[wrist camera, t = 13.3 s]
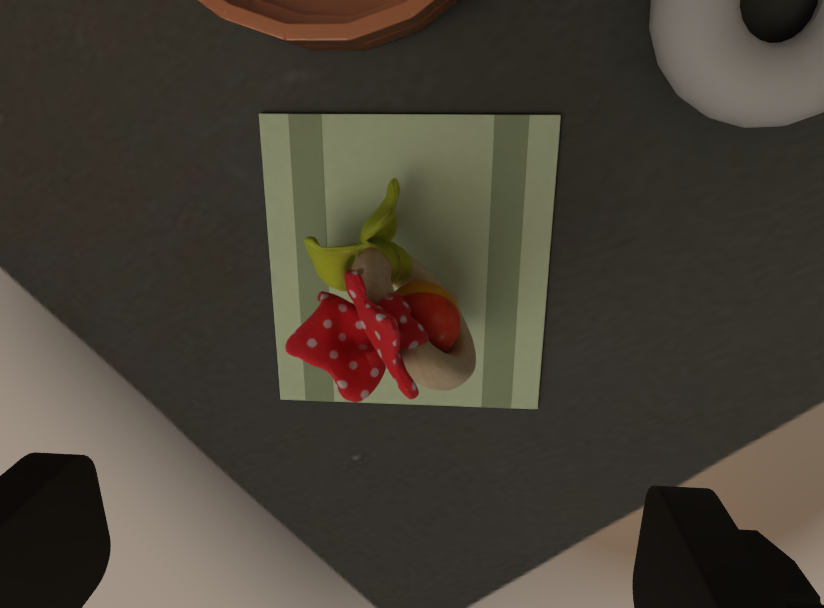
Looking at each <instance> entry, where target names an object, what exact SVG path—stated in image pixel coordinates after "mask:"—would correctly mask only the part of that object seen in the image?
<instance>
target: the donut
mask: <svg viewBox="0 0 824 608" xmlns="http://www.w3.org/2000/svg"><path fill="white" fill-rule="evenodd" d="M649 31H650V35H651V39H652V43H653V47H654V52H655V56H656V60H657V64H658V66H659V68H660V69H661V71H662V72H663V74H664V76H665V77H666V79H667V80H668V82H669V83H670V85H671V86H672V88H673V89H674V91H675V93H676V94H677V95H678V96H679V97H680V98H682V99H683V100H684V101H686V102H687V103H688V104H690V105H691V106H693V107H694V108H695V109H697V110H698V111H699V112H701V113H702V114H703V115H705V116H706V117H708V118H711V119H715V120H718V121H722V122H725V123H729V124H732V125H735V126H739V127H742V128H753V127H775V126H785V125H789V124H792V123H795V122H798V121H800V120H803V119H806V118H809V117H812V116H815V115H817V114H820V113H823V112H824V0H818V3H817V7H816V9H815V11H814V13H813V15H812V18H811V19H810V21H809V22H808V23H807V24H806V26H805V27H804V28H803V29H802V31H801V32H799V33H798V34H797V35H795V36H794V37H792V38H791V39H788V40H786V41H783V42H777V43H768V42H765V41H761V40H759V39H758V38H757V37H755V36H754V35H753V34H751V33H750V32H749V30H748V29H747V27H746V25H745V24H744V22H743V20H742V15H741V10H740V0H651V5H650V19H649Z"/></svg>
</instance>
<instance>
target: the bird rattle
mask: <svg viewBox="0 0 824 608" xmlns="http://www.w3.org/2000/svg"><path fill="white" fill-rule="evenodd" d="M399 193H400V186H399V182H398V180H397V179H396V178H393V179H391V180H390V182H389V184H388V187H387V195H386V198H385V199H384V200H383V201H382V203H381V205H380V206H379V207H378V209H377V210H376V211H375V212H374V213H373V214H372V215H371V216H370V217H369V218H368V219H367V220H366V222H365V224H364V226H363V228H362V231H361V236H360V244H357V243H355V244H351V245H348V246H335V247H322V246H320V245H319V243H318V241H317V239H316V238H315V237H312V236H309V237H306V238H305V240H304V243H305V246H306V249H307V251H308V254H309V256H310V258H311V259H312V263H313V266H314V268H315V270H316V272H317V274H318V276H319V277H320V278H321V279H322V281H323V282H324V283H325V284H327V285H328V286H330V287H332V288H334V289H337V290H339V291H347V292H348V295H349V296H350V298H351V300H352V301H353V303H354V304H353V303H351V302H349V301H347V300H346V299H344V298H342V297H340V296H338V295H335V294H332V293H329V292H324V291H321V292H320V293H319V295H318V297H317V299H318V301H319V302H320V305H319V306H318V308H317V309H316V310H315V311H314V313H313V314H312V315H311V316H310V317H309V318H308V319H307V320H306V321H305V322H304V323H303V324H302V325H301V326H300V327H299V328H297V329H296V330H295V331H294V332H293V333H292V335H291V336H290V337H289V338H288V340H287V342H286V345H285V349H286V352H287V353H288V354H289V355H291V356H294V357H296V358H298V359H300V360H302V361H305V362H307V363H309V364H311V365H313V366H315V367H318V368H320V369H323V370H325V371H327V372H328V373H329V374H330V375H331V376H332V377H333V379H334V381H335V384H336V387H337V390H338V391H339V393H340V394H341V396H342V397H343V398H344V399H346V400H349V401H352V402H360V401H362V400H363V399H365V398H366V397H368V396H369V395H370V394H371V393H372V392H373V391H374V390H375V389H376V387H377V386H378V384H379V383H380V381H381V379H382V377H383V375H384V373H385V370H386V368H387V370H388V371H389V373H390V374H391V376H392V377H393V379H394V381H395V383H396V385H397V386H398V388H399V389H400V391H401V392H402V393H403V394H404V395H405V396H406V397H407V398H409V399H411V400H412V399H414V398H416V397H417V396H418V394H419V390H418V388H417V386H416V384H415V382H417V383H418V384H420V385H422V386H425V387H427V388H430V389H434V390H439V391H448V390H452V389H455V388H457V387H458V386H460V385H462V384H463V383H464V382H466V381H467V380H468V379H469V378H470V377H471V376H472V374H473V372H474V370H475V366H476V351H475V346H474V342H473V339H472V336H471V333H470V331H469V328H468V326H467V323H466V321H465V319H464V317H463V315H462V313H461V311H460V309H459V305H458V299H457V297H456V296H455V295H454V294H453V293H451V292H450V291H448V290H447V289H446V288H445V287H444V286H443V285H442V284H441V283H440V281H439V280H438V279H437V278H436V277H435V276H434V275H433V274H432V273H431V272H430V271H429V270H428V269H427V268H426V267H425V266H424V265H422V264H421V263H420V262H419V261H418V260H416V259H415V258H414V257H412V256H411V255H409V254H408V253H407V252H406V251H405V250H404V249H403V248H402V247H400V246H398V245H397V244H395V243H393V242H390V241H391V240H392V239H393V237H394V236H395V234H396V230H397V219H396V214H395V207H396V203H397V200H398V196H399ZM393 285H394V286H396V287H397V288H398V289H397V290H396V291H394V288H393ZM414 381H415V382H414Z"/></svg>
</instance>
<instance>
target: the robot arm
mask: <svg viewBox="0 0 824 608" xmlns="http://www.w3.org/2000/svg"><path fill="white" fill-rule="evenodd" d="M110 546H111V545H110V535H109V530H108V526H107V521H106V516H105V511H104V507H103V502H102V497H101V492H100V487H99V482H98V477H97V472H96V469H95V465H94V463H93V461H92V460H91V459H90V458H89V457H88V456H85V455H72V454H53V453H30V454H28V455H26V456H24V457H23V458H21V459H20V460H19V461H18V462H17V463H15V464H14V465H13V466H12V467H11V468H9V469H8V470H7V471H6V472H5V473H3V474H2V475H1V476H0V608H82V607H83V605H84V604H85V603H86V601H87V600H88V599H89V597H90V596H91V595H92V593H93V592H94V590H95V589H96V588H97V586H98V585H99V583H100V581H101V580H102V578H103V575H104V573H105V571H106V568H107V565H108V561H109V556H110ZM633 601H634V608H824V605H822V604H821V603H820V596H819V595H818V594H817V592H816V591H815V589H814V588H813V587H812V585H811V584H810V582H809V581H808V580H807V578H806V577H805V575H804V574H803V573H802V571H801V570H800V569H799V567H798V566H797V564H796V563H795V561H794V560H792V559H791V558H790V557H789V556H787V555H786V554H785V553H784V552H782V551H781V550H780V549H779V548H777V547H776V546H775V545H774V544H773V543H771V542H770V541H769V540H768V539H766V538H765V537H764V536H763V535H762V534H760V533H759V532H758V531H756V530H739V529H738V528H737V526H736V525H735V523H734V522H733V520H732V519H731V517H730V515H729V514H728V512H727V510H726V509H725V507H724V506H723V504H722V503H721V501H720V499H719V498H718V496H717V495H716V494H715V492H714V491H712V490H711V489H707V488H688V487H669V486H651V487H650V488H649V490H648V492H647V495H646V499H645V504H644V510H643V517H642V523H641V529H640V535H639V541H638V547H637V554H636V559H635V565H634V572H633Z"/></svg>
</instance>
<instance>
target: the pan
mask: <svg viewBox="0 0 824 608" xmlns="http://www.w3.org/2000/svg"><path fill="white" fill-rule="evenodd" d="M198 1H200V2H201V3H202V4H204V5H205V6H206V7H207V8H209V9H210V10H211V11H213V12H214V13H215V14H217V15H218V16H219V17H221V18H223V19H224V20H227V21H230V22H232V23H235V24H238V25H241V26H244V27H246V28H249V29H252V30H255V31H257V32H260V33H263V34H266V35H269V36H272V37H275V38H277V39H280V40H283V41H286V42H289V43H292V44H295V45H298V46H300V47H303V48H306V49H309V50H366V49H371V48H374V47H377V46H380V45H383V44H385V43H388V42H391V41H394V40H396V39H399V38H402V37H405V36H407V35H410V34H413V33H416V32H418V31H419V30H422V29H423V28H424V27H426V26H427V25H428V24H429V23H431V22H432V21H433V20H434V19H436V18H437V17H438V16H440V15H441V14H442V13H443V12H445V11H446V10H447V9H448V8H450V7H451V6H452V5H453V4H455V3H456V2H457V1H458V0H198Z"/></svg>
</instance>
